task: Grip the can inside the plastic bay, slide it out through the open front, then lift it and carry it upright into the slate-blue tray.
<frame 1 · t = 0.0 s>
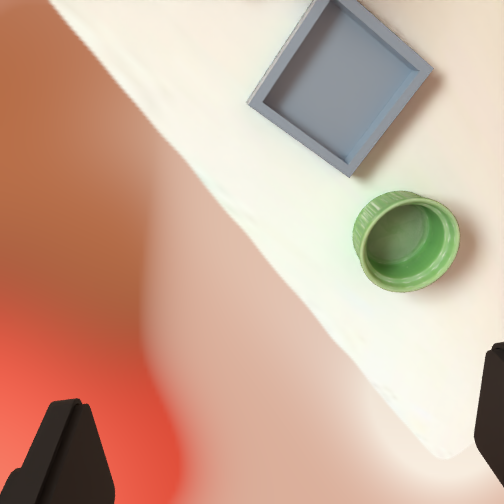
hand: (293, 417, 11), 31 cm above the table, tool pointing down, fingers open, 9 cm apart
tray: (334, 84, 38), on the table
ramekin: (391, 229, 44), on the table
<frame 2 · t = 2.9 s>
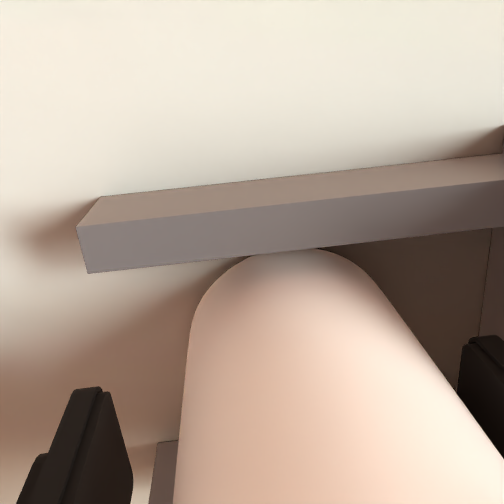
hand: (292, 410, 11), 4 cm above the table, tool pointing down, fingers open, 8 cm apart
can: (287, 328, 15), on the table
bay: (288, 332, 15), on the table
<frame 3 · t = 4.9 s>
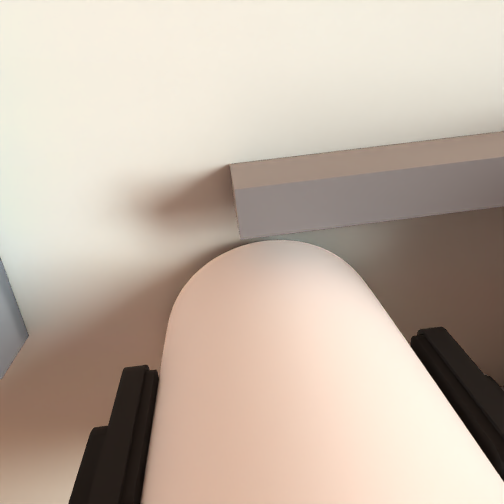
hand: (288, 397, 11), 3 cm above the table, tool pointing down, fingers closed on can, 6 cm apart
can: (270, 325, 14), on the table, touching gripper
bay: (403, 305, 15), on the table
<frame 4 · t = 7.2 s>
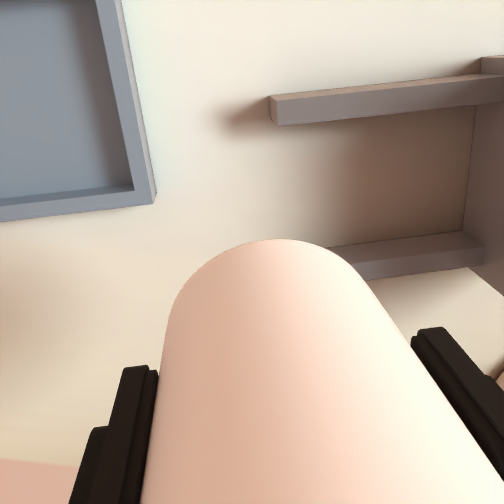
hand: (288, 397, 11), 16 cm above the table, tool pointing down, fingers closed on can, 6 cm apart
tray: (32, 104, 23), on the table
can: (270, 324, 14), point 13 cm above the table, touching gripper
bay: (361, 180, 26), on the table
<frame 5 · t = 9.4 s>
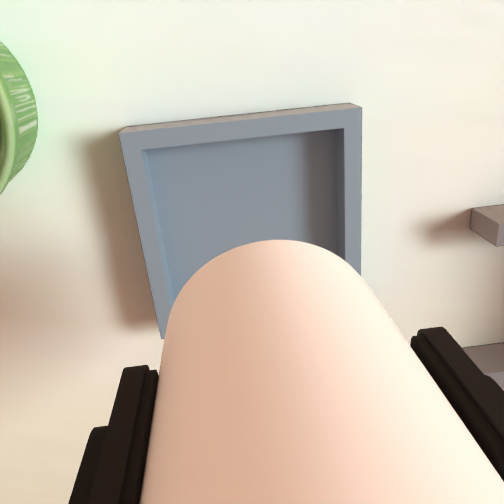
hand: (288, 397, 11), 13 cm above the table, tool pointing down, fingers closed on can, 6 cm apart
tray: (249, 219, 24), on the table
can: (270, 325, 14), point 10 cm above the table, touching gripper
when the fingers open (5 cm above the table, at t = 11.3 s): can drops 1 cm, resting on tray.
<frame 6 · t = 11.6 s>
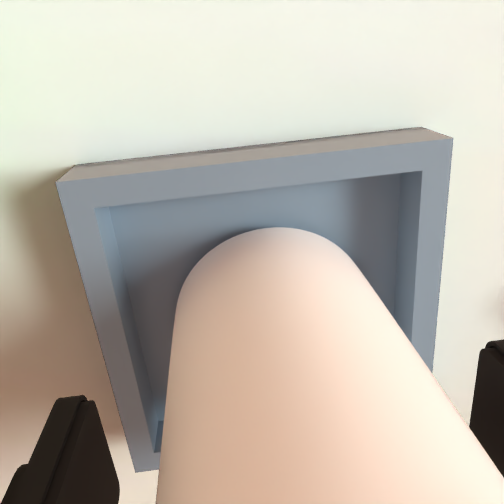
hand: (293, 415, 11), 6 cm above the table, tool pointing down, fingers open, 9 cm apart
tray: (265, 296, 16), on the table
can: (270, 306, 16), resting on tray
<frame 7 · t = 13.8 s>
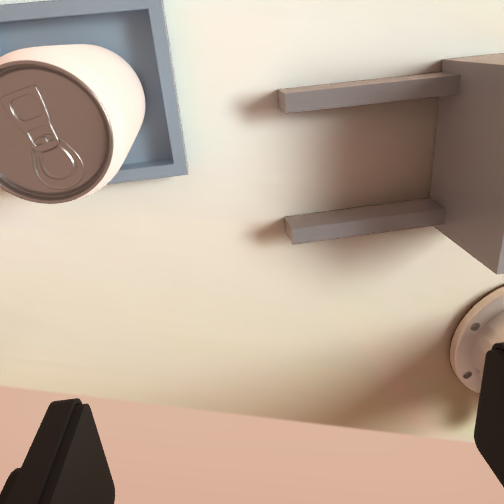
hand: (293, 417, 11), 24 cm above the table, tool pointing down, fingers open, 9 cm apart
tray: (93, 95, 29), on the table
can: (94, 99, 29), resting on tray
bay: (349, 157, 33), on the table
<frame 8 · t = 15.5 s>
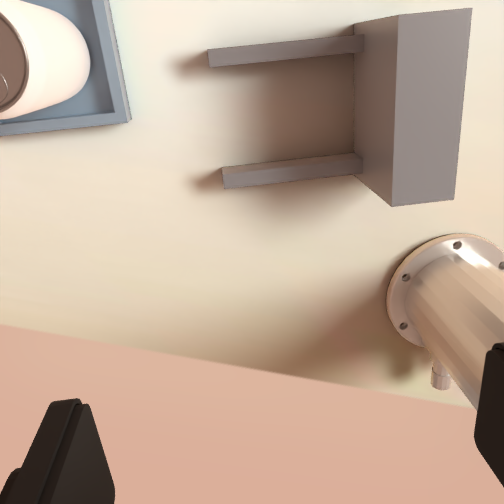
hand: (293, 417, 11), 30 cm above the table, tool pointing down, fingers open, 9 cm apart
tray: (46, 53, 34), on the table
can: (47, 56, 34), resting on tray
bay: (276, 112, 37), on the table
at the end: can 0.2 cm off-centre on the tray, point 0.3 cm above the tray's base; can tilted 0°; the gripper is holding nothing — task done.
